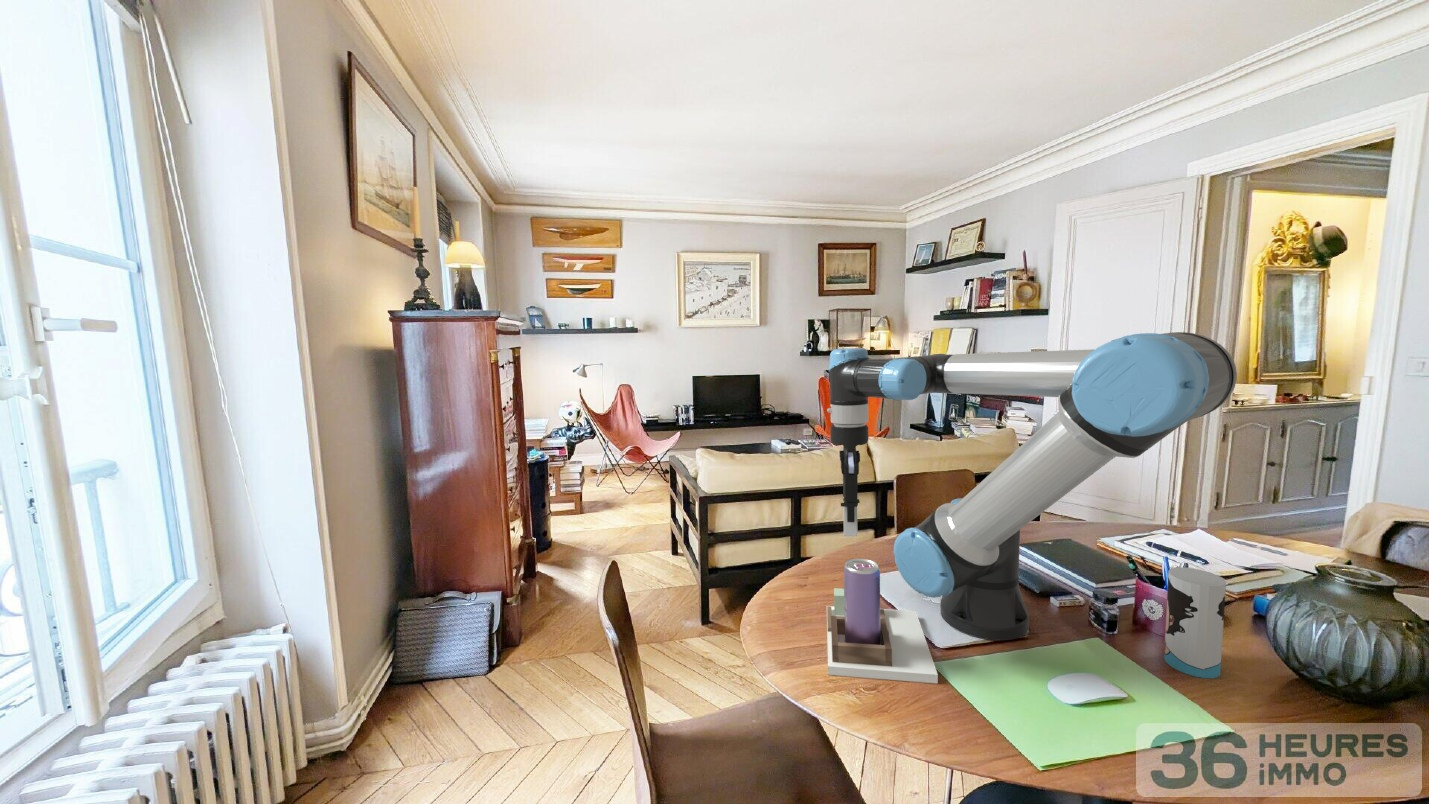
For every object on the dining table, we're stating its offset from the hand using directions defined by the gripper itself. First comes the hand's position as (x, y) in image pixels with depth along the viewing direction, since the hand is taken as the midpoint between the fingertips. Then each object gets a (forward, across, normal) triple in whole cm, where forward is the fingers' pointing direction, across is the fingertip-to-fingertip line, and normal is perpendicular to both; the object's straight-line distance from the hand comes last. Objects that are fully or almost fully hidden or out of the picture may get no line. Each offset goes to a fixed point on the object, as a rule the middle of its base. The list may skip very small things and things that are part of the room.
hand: (850, 534), depth 110 cm
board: (+14, +17, +3) cm, 22 cm away
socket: (+12, +21, 0) cm, 24 cm away
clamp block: (+12, +9, 0) cm, 15 cm away
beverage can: (+13, +21, +1) cm, 24 cm away
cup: (+14, +17, +52) cm, 57 cm away
